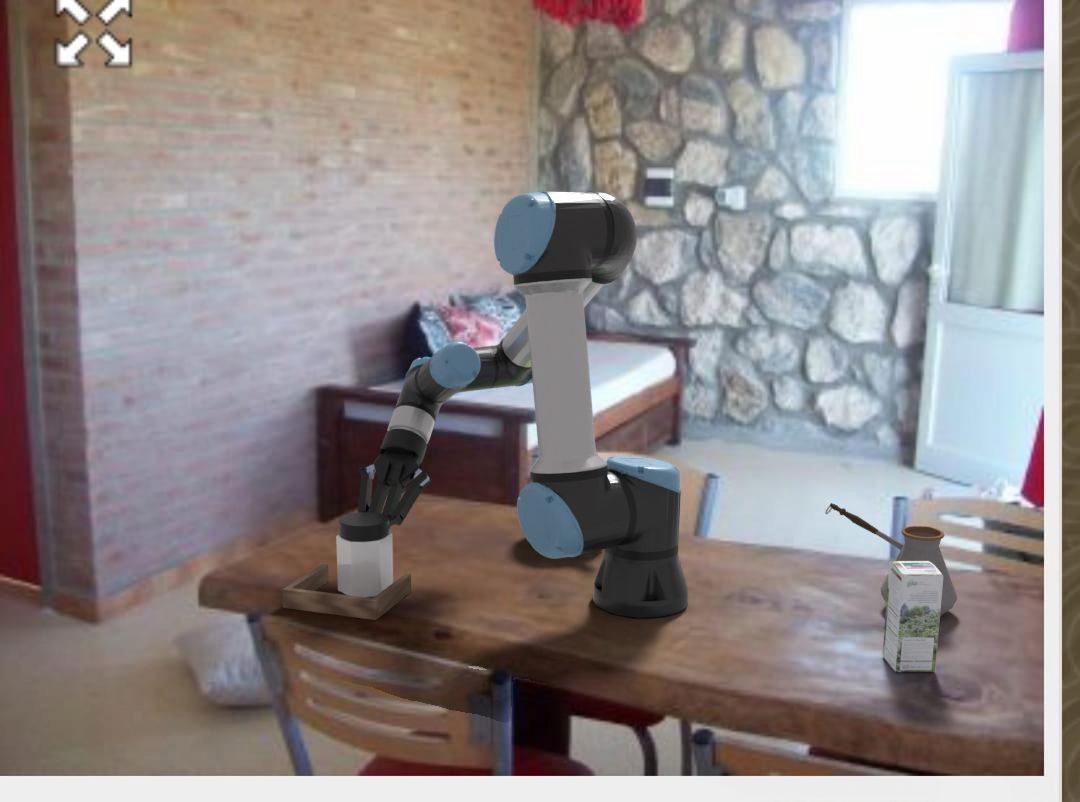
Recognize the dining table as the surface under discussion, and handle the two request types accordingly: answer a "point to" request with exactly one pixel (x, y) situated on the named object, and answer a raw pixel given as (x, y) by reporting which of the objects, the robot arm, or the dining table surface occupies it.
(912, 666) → the syrup box
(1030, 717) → the dining table surface
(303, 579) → the box
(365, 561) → the jar
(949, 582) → the coffee pot
